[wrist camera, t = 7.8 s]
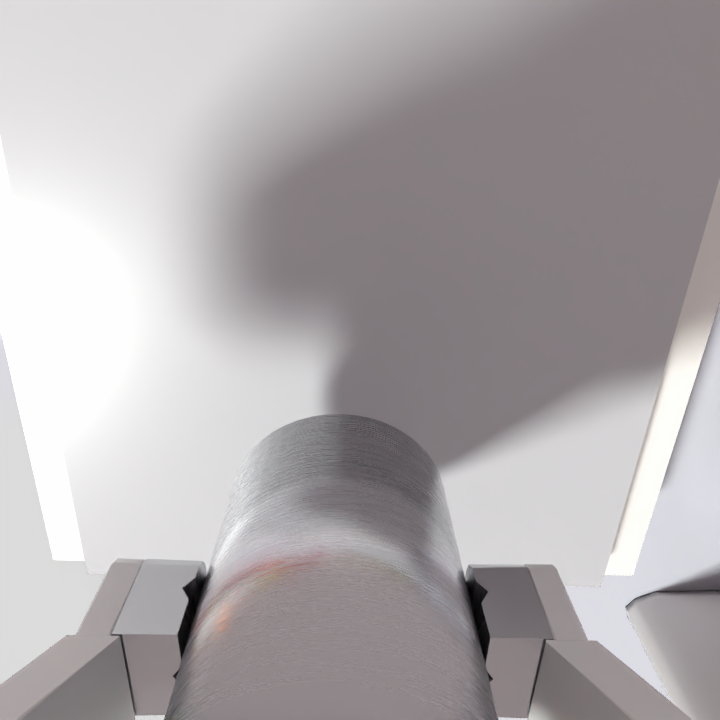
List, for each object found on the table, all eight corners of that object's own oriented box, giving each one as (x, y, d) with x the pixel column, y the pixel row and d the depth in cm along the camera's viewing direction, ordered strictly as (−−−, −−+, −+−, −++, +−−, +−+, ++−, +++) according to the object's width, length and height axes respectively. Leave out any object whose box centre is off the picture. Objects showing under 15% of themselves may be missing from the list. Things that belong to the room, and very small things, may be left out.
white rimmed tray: (835, -375, 12) (1043, -571, 8) (597, 513, 22) (646, 600, 18) (-78, -440, 12) (-276, -678, 8) (92, 497, 21) (37, 585, 17)
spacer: (455, 417, 12) (543, 690, 7) (434, 588, 14) (488, 910, 8) (226, 411, 12) (120, 684, 6) (236, 585, 14) (162, 911, 8)
